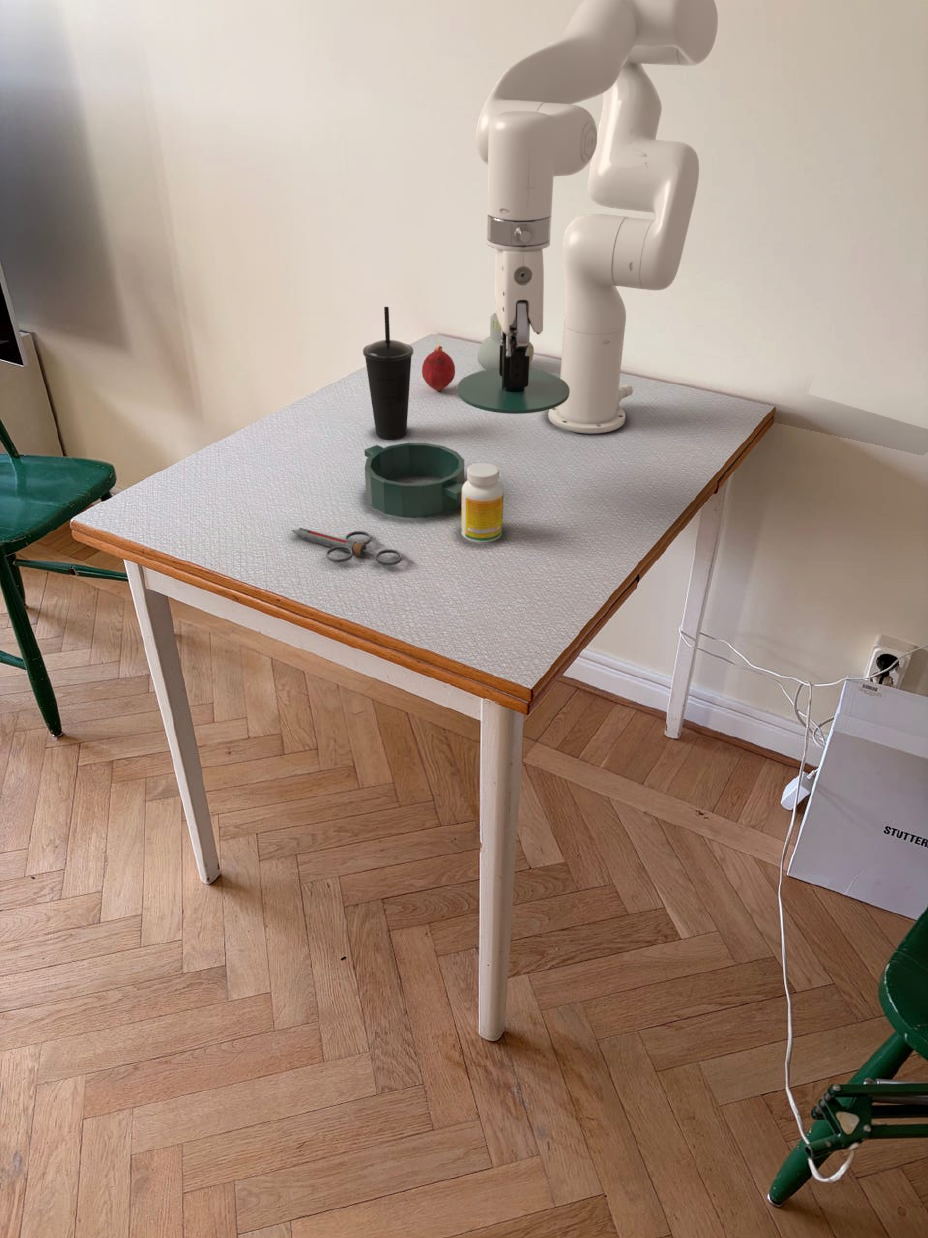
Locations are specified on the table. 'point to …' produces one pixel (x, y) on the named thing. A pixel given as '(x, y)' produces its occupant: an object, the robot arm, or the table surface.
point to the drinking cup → (389, 383)
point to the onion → (438, 369)
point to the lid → (512, 392)
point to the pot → (413, 496)
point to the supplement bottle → (482, 503)
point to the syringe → (344, 545)
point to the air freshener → (494, 347)
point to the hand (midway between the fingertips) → (513, 379)
